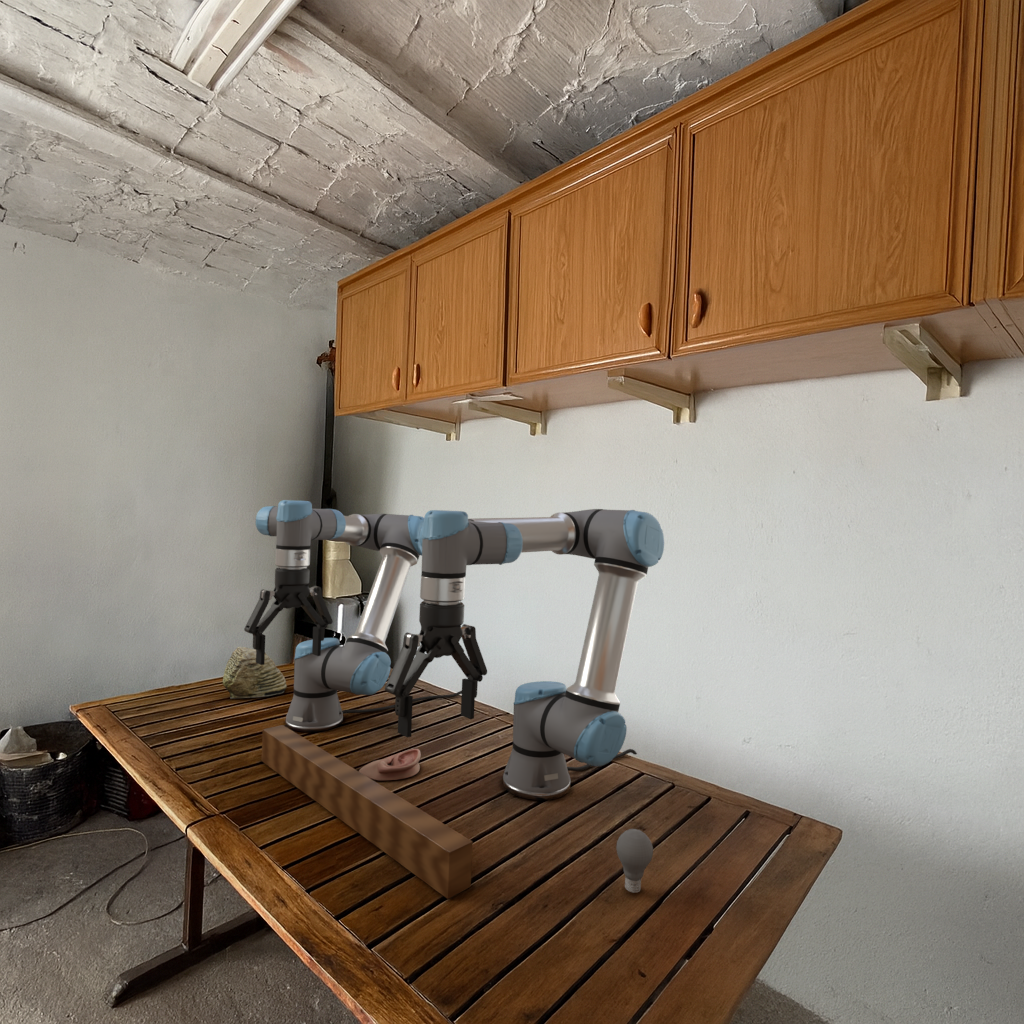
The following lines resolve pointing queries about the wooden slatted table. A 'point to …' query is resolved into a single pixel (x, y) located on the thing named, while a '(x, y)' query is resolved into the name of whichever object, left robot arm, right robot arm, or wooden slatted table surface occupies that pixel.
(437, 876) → the bar
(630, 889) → the light bulb
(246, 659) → the fossil
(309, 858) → the wooden slatted table surface
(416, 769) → the anatomical model
